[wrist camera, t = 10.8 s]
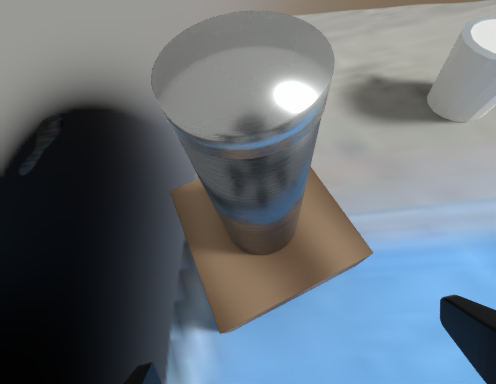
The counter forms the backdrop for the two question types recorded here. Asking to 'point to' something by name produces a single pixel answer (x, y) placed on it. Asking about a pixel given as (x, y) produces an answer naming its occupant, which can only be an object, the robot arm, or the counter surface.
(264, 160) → the tea tin
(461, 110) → the shot glass
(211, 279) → the walnut block
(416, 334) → the counter surface
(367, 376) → the counter surface
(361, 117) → the counter surface
